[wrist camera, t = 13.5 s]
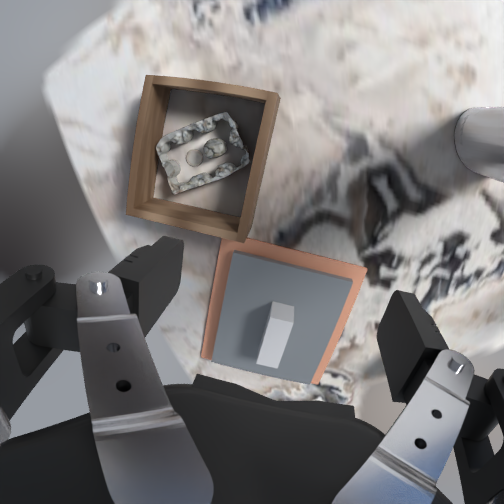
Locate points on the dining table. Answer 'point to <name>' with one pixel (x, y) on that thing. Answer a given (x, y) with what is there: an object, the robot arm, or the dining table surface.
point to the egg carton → (195, 156)
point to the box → (147, 158)
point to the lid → (277, 317)
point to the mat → (289, 257)
